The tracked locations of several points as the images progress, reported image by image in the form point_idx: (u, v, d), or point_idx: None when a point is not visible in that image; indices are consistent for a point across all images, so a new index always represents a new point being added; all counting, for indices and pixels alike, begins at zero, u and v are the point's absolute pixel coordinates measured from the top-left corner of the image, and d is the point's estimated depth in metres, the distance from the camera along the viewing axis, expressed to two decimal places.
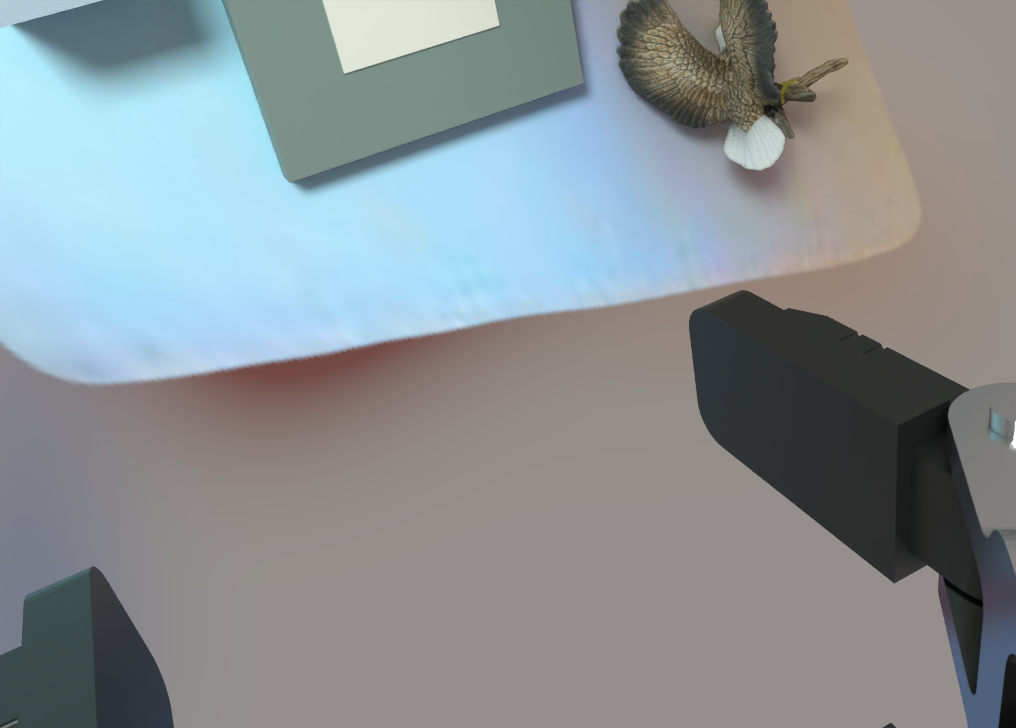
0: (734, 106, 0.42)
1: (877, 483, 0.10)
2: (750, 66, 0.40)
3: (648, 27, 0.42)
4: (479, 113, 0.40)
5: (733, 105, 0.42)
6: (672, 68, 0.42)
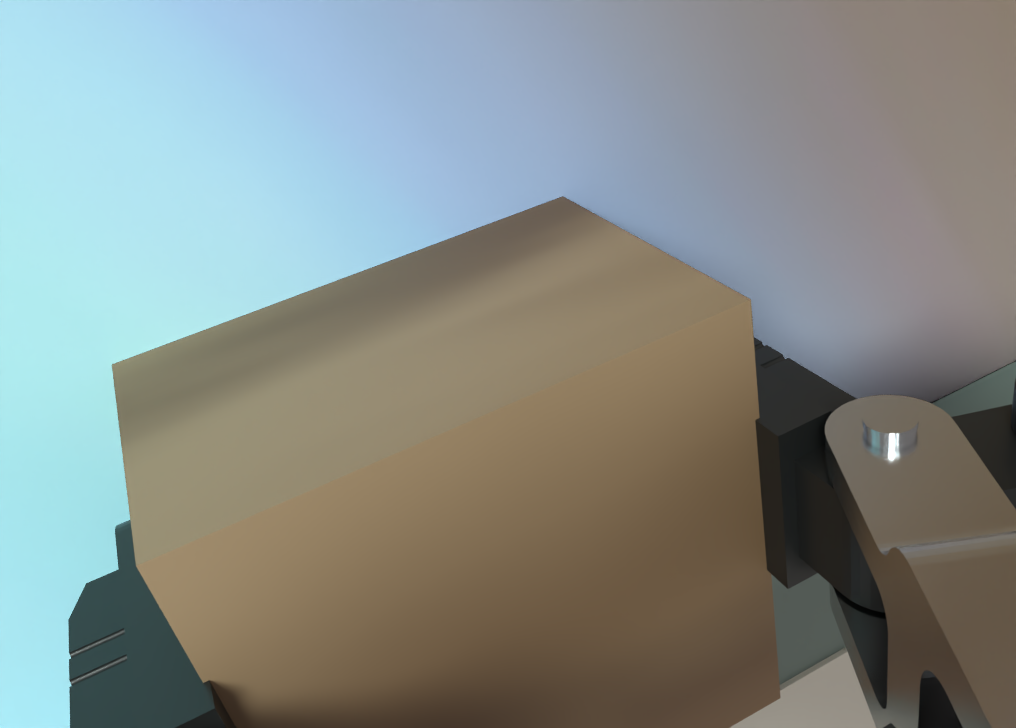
0: None
1: (766, 492, 0.10)
2: None
3: None
4: None
5: None
6: None
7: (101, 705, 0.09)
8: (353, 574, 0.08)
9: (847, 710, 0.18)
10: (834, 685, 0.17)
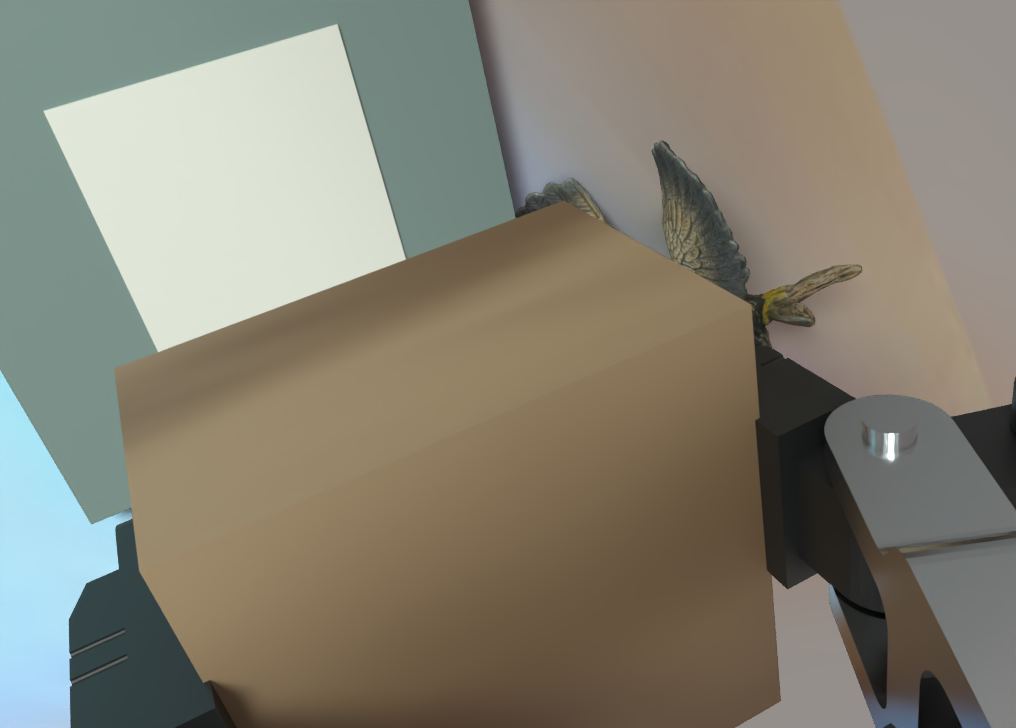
0: None
1: (766, 492, 0.10)
2: None
3: None
4: None
5: None
6: None
7: (101, 704, 0.09)
8: (355, 578, 0.08)
9: (239, 131, 0.22)
10: (213, 95, 0.22)
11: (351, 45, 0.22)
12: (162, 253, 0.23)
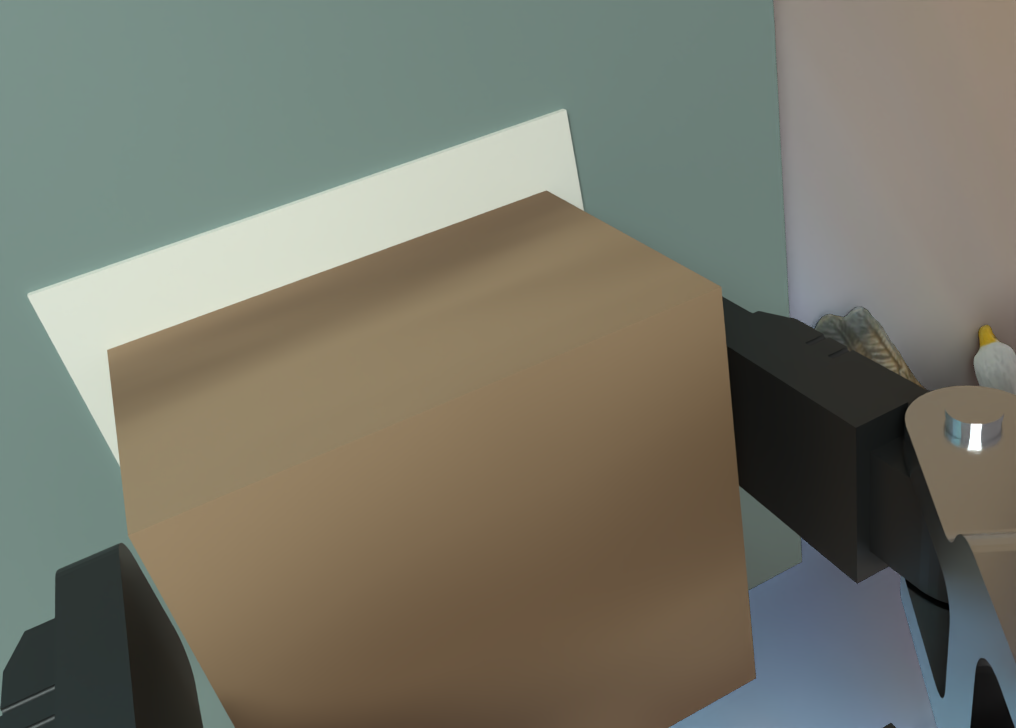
0: None
1: (838, 484, 0.10)
2: None
3: None
4: None
5: None
6: None
7: None
8: (337, 547, 0.09)
9: None
10: (344, 245, 0.12)
11: (584, 144, 0.12)
12: None
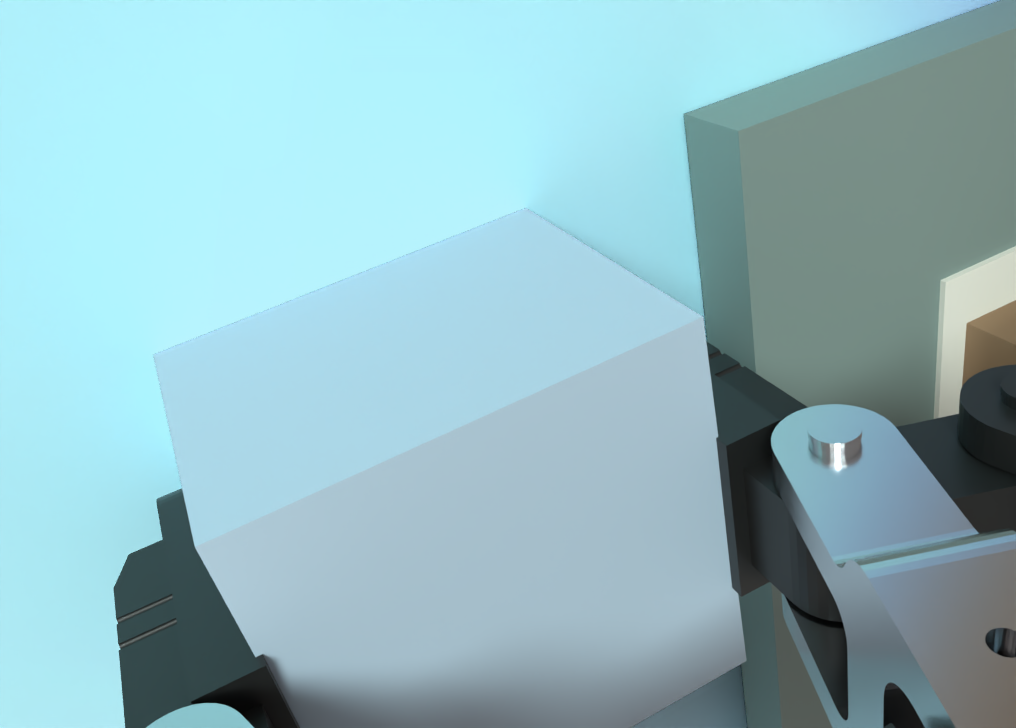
0: None
1: None
2: None
3: None
4: None
5: None
6: None
7: (151, 666, 0.09)
8: None
9: None
10: None
11: None
12: None
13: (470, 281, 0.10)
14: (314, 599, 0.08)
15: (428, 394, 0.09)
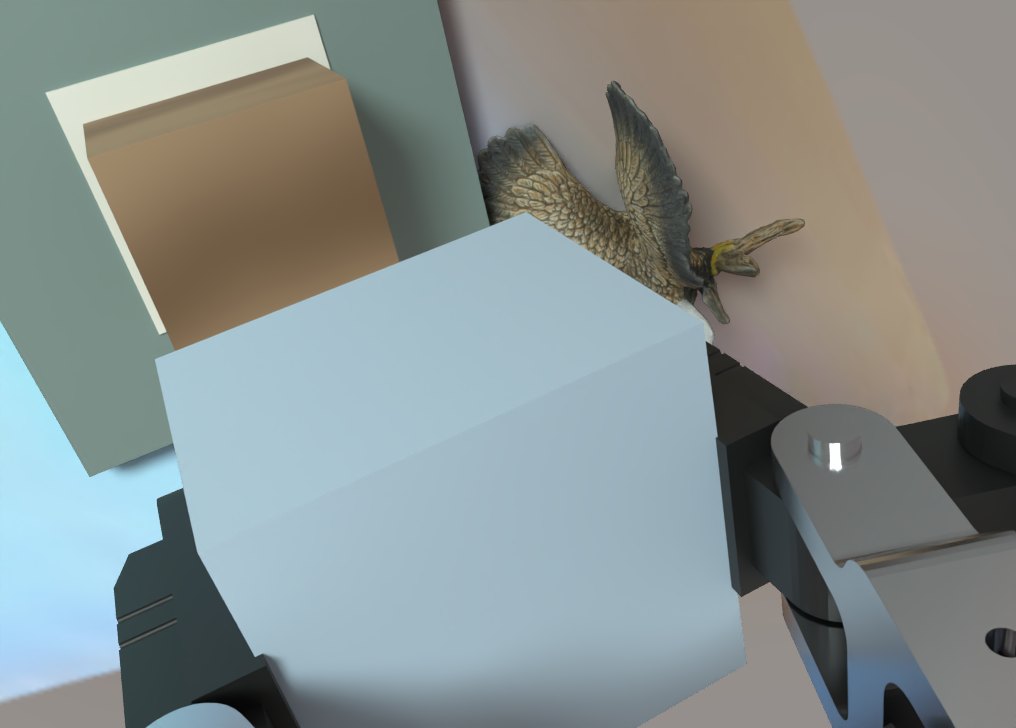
0: None
1: None
2: (658, 243, 0.27)
3: (518, 175, 0.29)
4: None
5: None
6: None
7: (151, 666, 0.09)
8: (175, 180, 0.21)
9: None
10: (199, 79, 0.24)
11: (327, 34, 0.25)
12: None
13: (471, 286, 0.10)
14: (316, 603, 0.08)
15: (430, 400, 0.09)
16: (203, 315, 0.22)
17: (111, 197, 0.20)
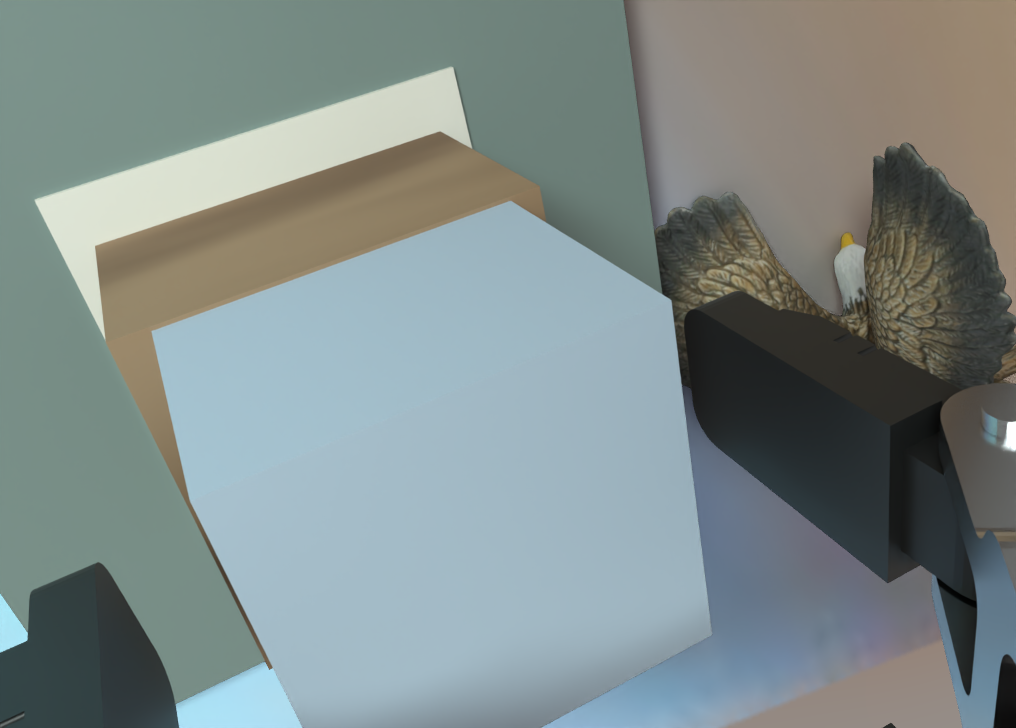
0: None
1: (870, 483, 0.10)
2: None
3: (708, 263, 0.20)
4: None
5: None
6: None
7: None
8: None
9: None
10: (278, 170, 0.15)
11: (469, 95, 0.16)
12: None
13: (455, 267, 0.11)
14: (300, 555, 0.09)
15: (412, 367, 0.09)
16: None
17: (147, 402, 0.12)
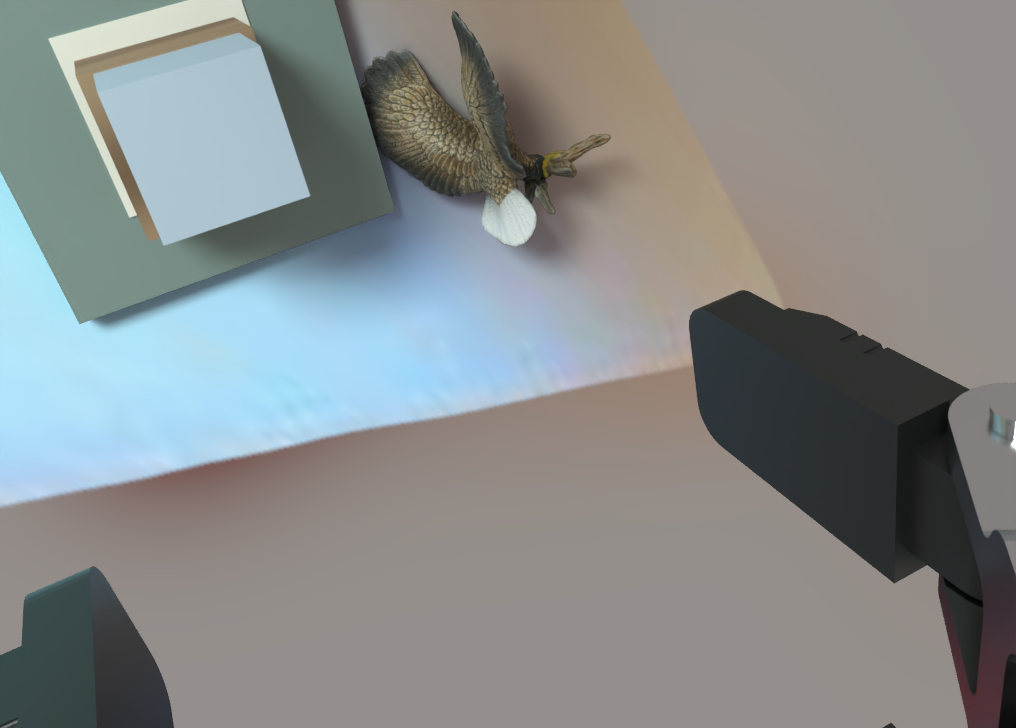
0: (485, 177, 0.40)
1: (877, 483, 0.10)
2: (489, 137, 0.37)
3: (394, 87, 0.39)
4: (282, 246, 0.39)
5: (484, 176, 0.40)
6: (417, 133, 0.39)
7: None
8: None
9: None
10: (156, 31, 0.34)
11: (247, 0, 0.35)
12: None
13: (204, 48, 0.30)
14: (134, 120, 0.27)
15: (174, 66, 0.28)
16: None
17: (92, 104, 0.30)
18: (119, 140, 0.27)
